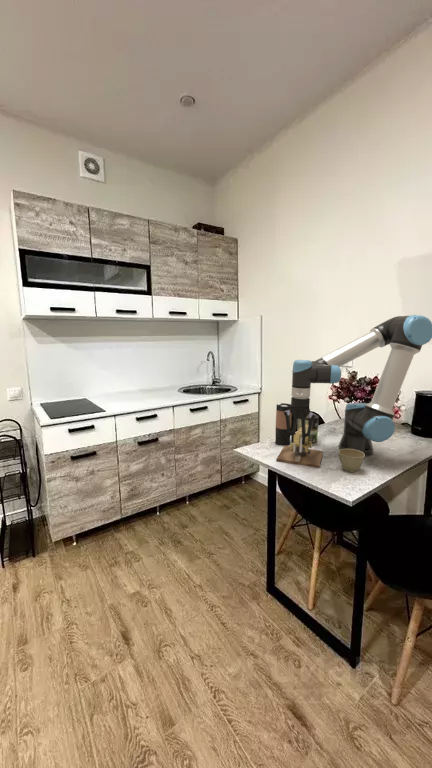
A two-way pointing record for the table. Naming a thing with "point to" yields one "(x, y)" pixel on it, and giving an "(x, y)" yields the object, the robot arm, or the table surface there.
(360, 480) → the table surface
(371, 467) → the table surface
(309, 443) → the coupling
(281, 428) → the travel mug
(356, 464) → the flower pot
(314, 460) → the base
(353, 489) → the table surface
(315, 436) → the coffee can
